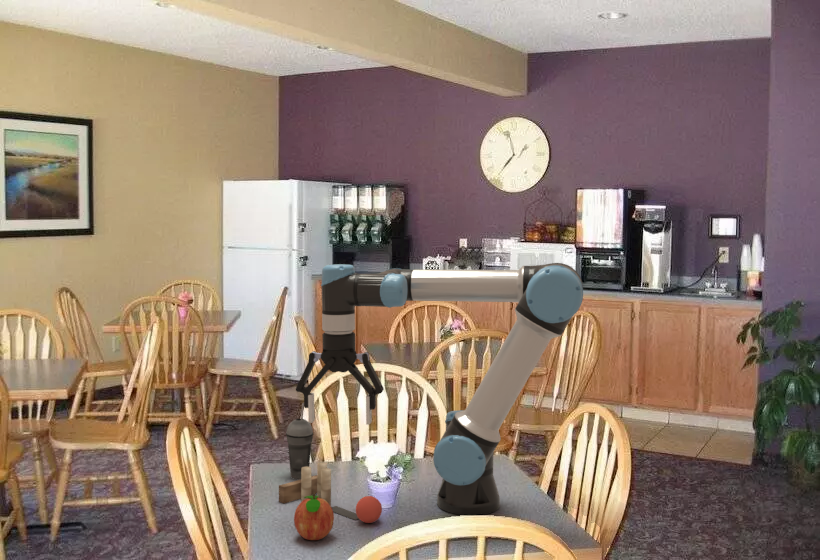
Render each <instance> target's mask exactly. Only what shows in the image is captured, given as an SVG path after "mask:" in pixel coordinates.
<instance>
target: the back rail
mask: <svg viewBox="0 0 820 560" xmlns="http://www.w3.org/2000/svg"><path fill="white" fill-rule="evenodd" d="M313 493H315V495H317V494H316V493H317V474H316V475H311V496H313ZM297 500H301V479H296V480H293V481H290V482H287V483H282V484H279V485H278V502H279V503H282V504H287V503H290V502H295V501H297Z"/></svg>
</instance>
